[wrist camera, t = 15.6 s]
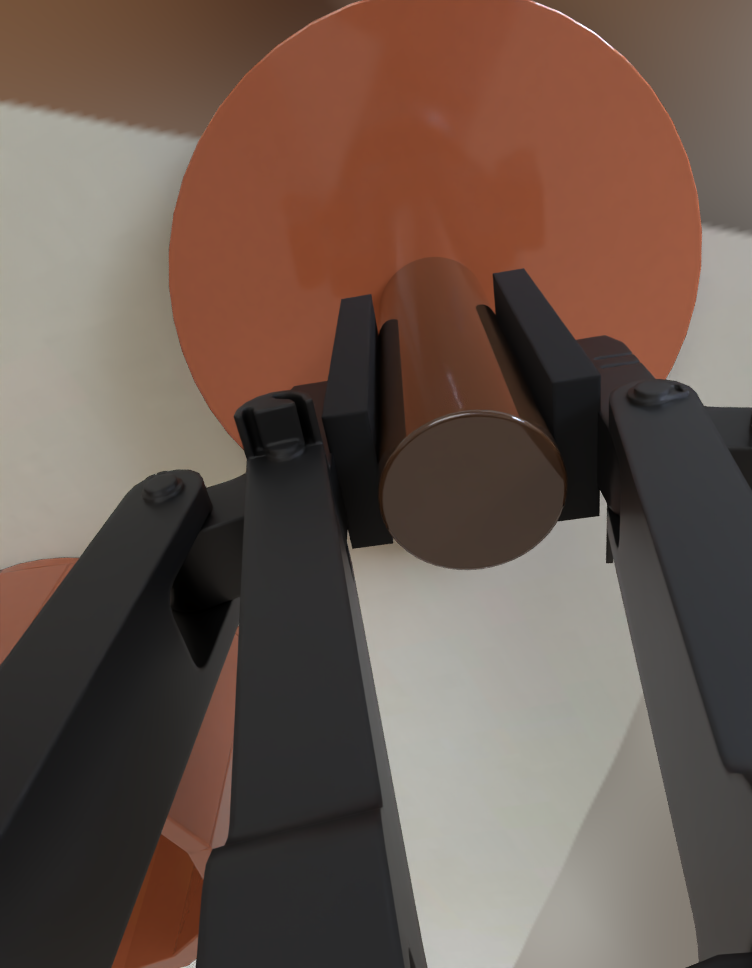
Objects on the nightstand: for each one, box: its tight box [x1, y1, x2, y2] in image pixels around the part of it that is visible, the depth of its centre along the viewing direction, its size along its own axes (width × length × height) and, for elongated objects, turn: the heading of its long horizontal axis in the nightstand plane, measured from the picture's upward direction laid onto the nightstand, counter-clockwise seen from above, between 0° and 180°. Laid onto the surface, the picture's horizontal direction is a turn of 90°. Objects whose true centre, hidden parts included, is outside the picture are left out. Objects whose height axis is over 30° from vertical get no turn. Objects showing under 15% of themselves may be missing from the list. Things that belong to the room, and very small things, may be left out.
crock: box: [0, 558, 239, 968], centre depth 25 cm, size 14×14×8 cm
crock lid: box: [169, 0, 702, 570], centre depth 15 cm, size 15×15×11 cm
